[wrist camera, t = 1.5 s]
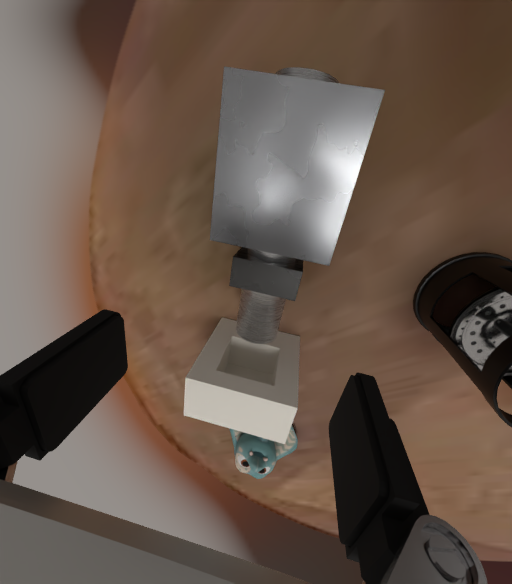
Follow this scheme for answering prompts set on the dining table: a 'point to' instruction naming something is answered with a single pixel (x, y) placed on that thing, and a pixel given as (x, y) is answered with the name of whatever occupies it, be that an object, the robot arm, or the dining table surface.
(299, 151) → the grey metal block
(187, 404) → the socket
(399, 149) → the dining table surface
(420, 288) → the french press
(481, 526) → the dining table surface
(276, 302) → the rod
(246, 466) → the stuffed animal
